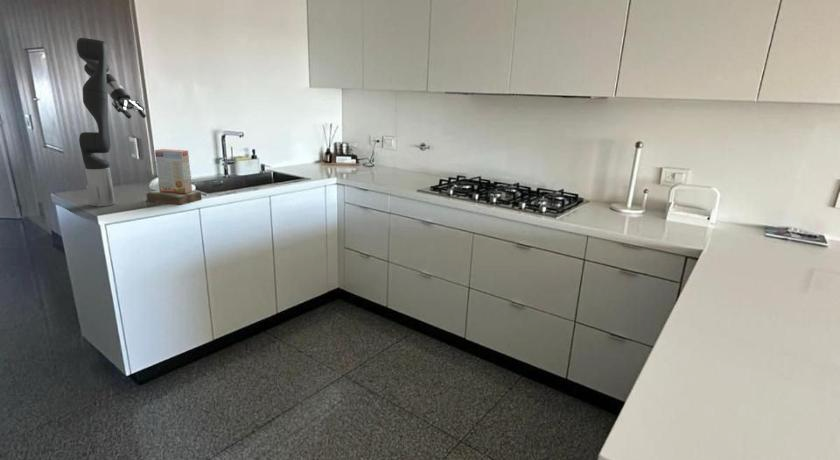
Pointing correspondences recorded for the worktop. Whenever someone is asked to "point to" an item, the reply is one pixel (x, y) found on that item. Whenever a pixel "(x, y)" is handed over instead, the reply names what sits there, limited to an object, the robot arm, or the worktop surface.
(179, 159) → the cracker box
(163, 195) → the podium
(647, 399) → the worktop surface
